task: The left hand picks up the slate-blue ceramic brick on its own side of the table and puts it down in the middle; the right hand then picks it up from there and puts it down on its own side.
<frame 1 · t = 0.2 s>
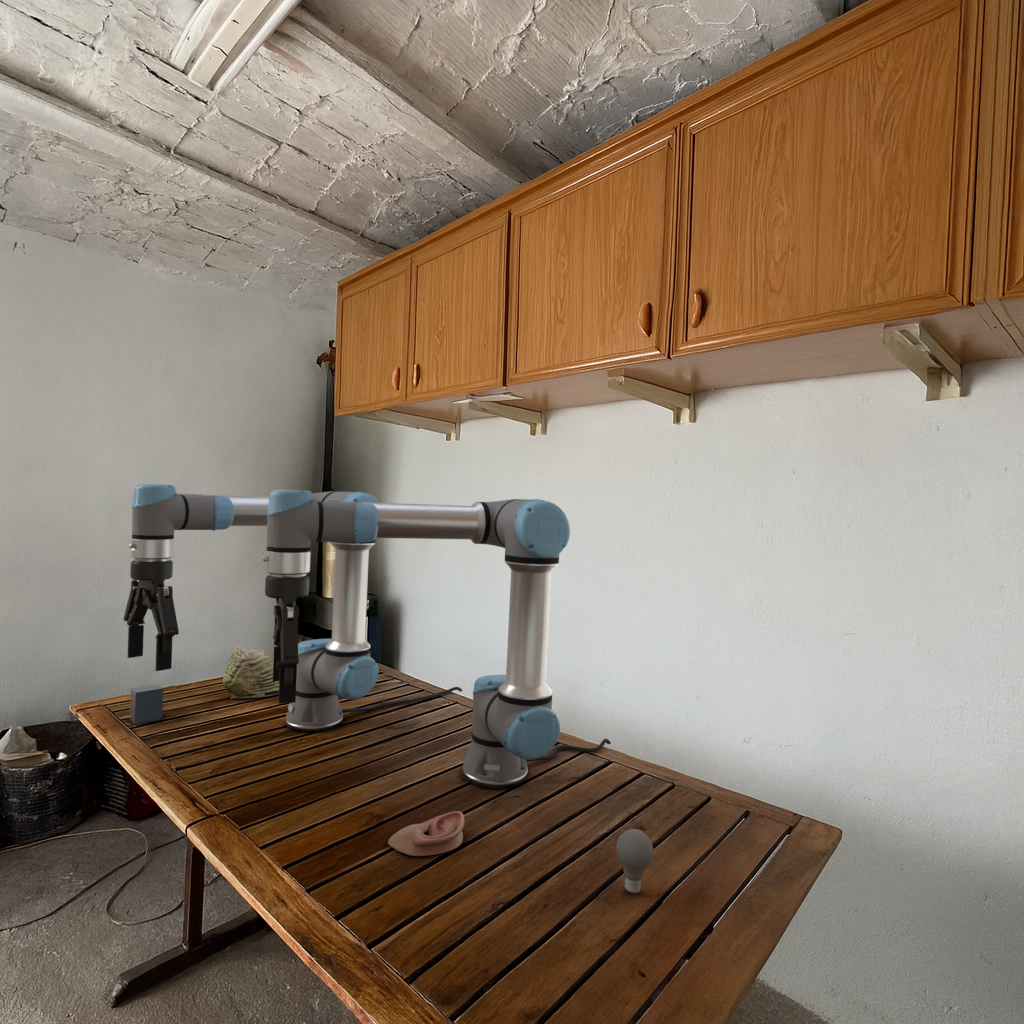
left hand: (148, 663, 130), 28 cm above the table, tool pointing down, fingers open, 13 cm apart
right hand: (283, 691, 115), 28 cm above the table, tool pointing down, fingers open, 13 cm apart
fossil: (254, 694, 198), on the table
light bulb: (632, 891, 106), on the table
brick: (146, 719, 174), on the table
anatomical model: (426, 841, 118), on the table
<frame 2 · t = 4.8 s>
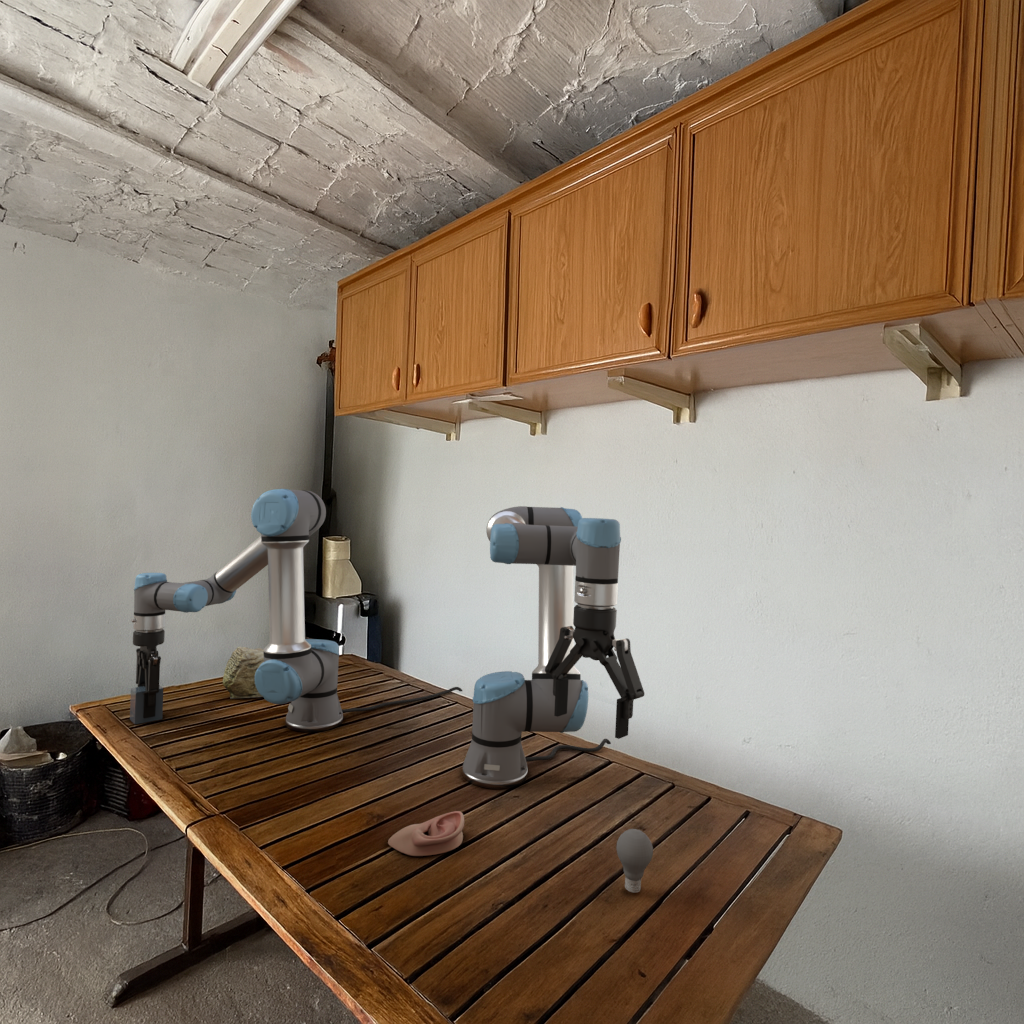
left hand: (146, 714, 174), 1 cm above the table, tool pointing down, fingers closed on brick, 5 cm apart
right hand: (589, 725, 112), 25 cm above the table, tool pointing down, fingers open, 13 cm apart
brick: (146, 719, 174), on the table, touching left hand
everything else where it was.
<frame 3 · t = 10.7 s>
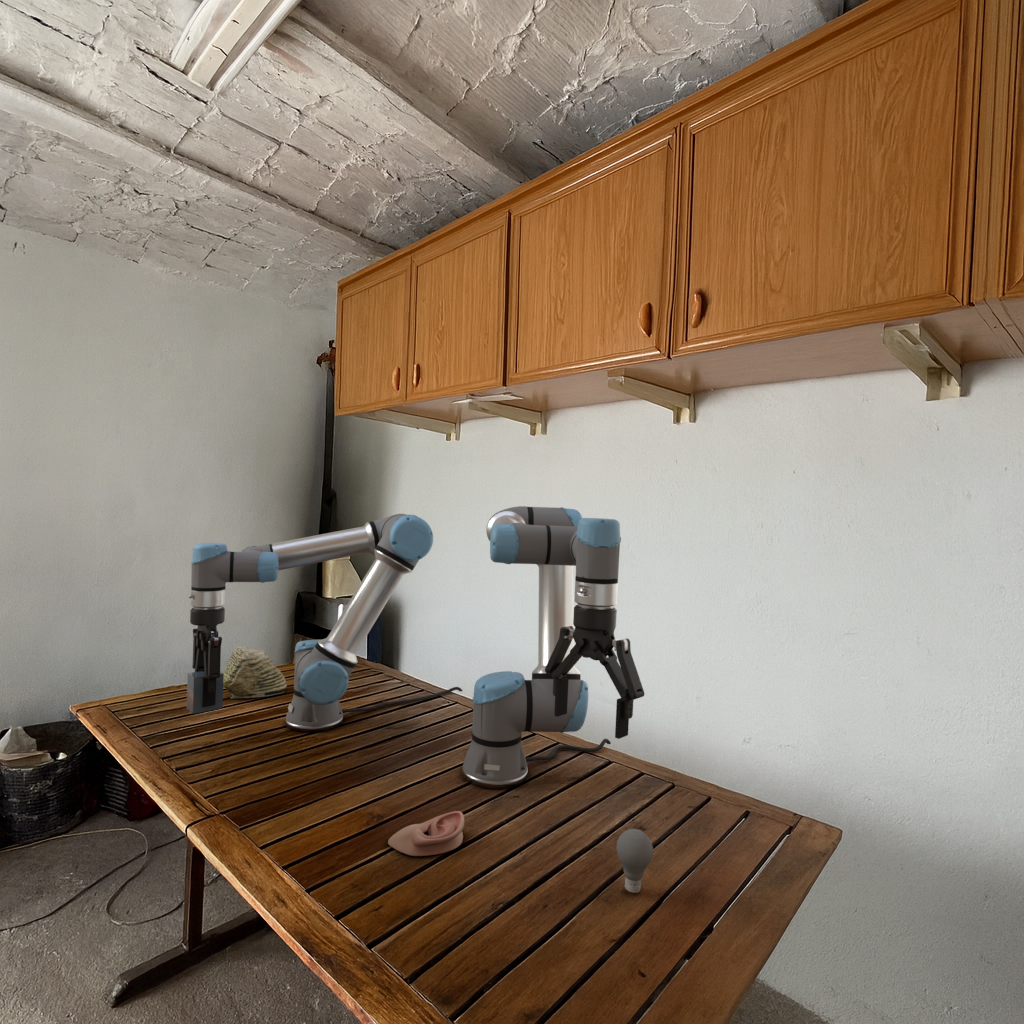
left hand: (204, 702, 153), 12 cm above the table, tool pointing down, fingers closed on brick, 5 cm apart
right hand: (589, 725, 112), 25 cm above the table, tool pointing down, fingers open, 13 cm apart
brick: (204, 708, 153), point 11 cm above the table, touching left hand
everything else where it was.
when the left hand's fingers open (3 cm above the table, at t = 16.6 s): brick drops 2 cm, on the table.
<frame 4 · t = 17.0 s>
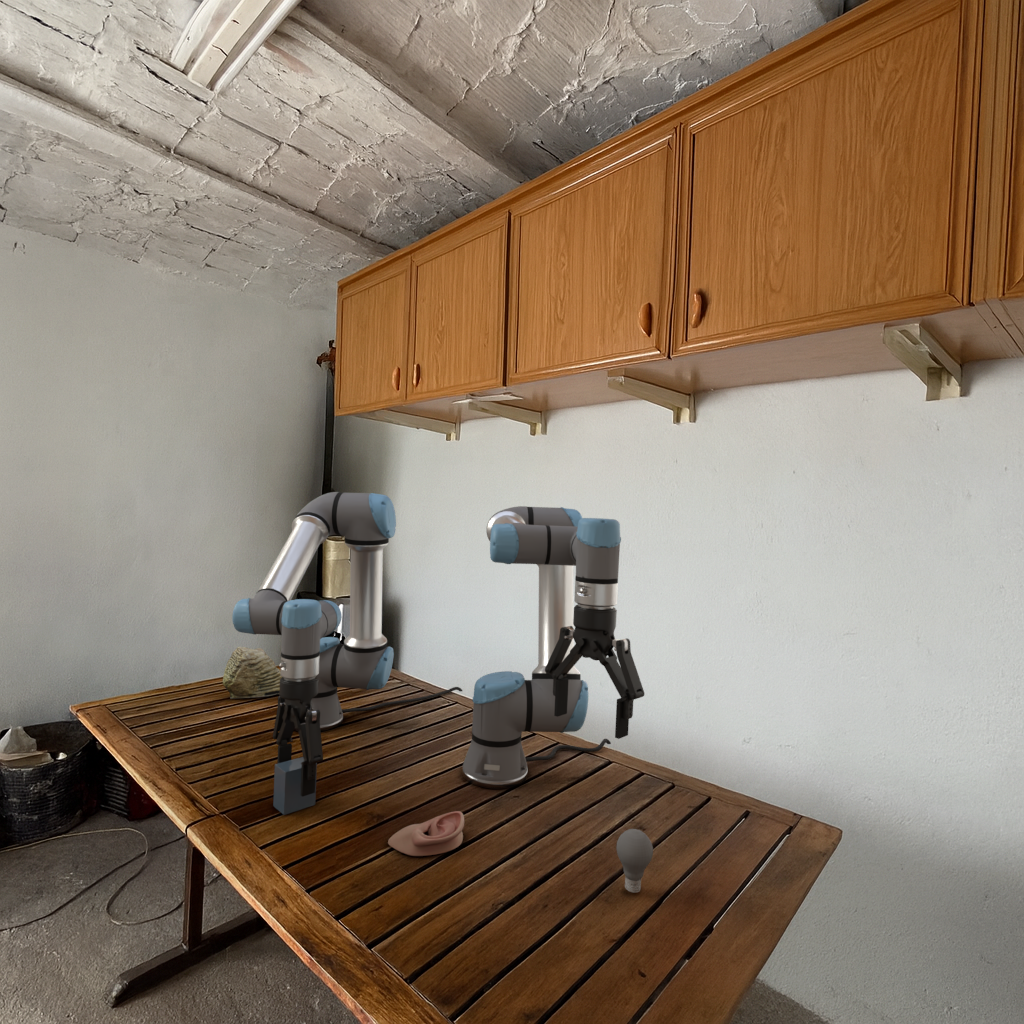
left hand: (295, 784, 130), 4 cm above the table, tool pointing down, fingers open, 10 cm apart
right hand: (589, 725, 112), 25 cm above the table, tool pointing down, fingers open, 13 cm apart
brick: (294, 805, 130), on the table
everything else where it was.
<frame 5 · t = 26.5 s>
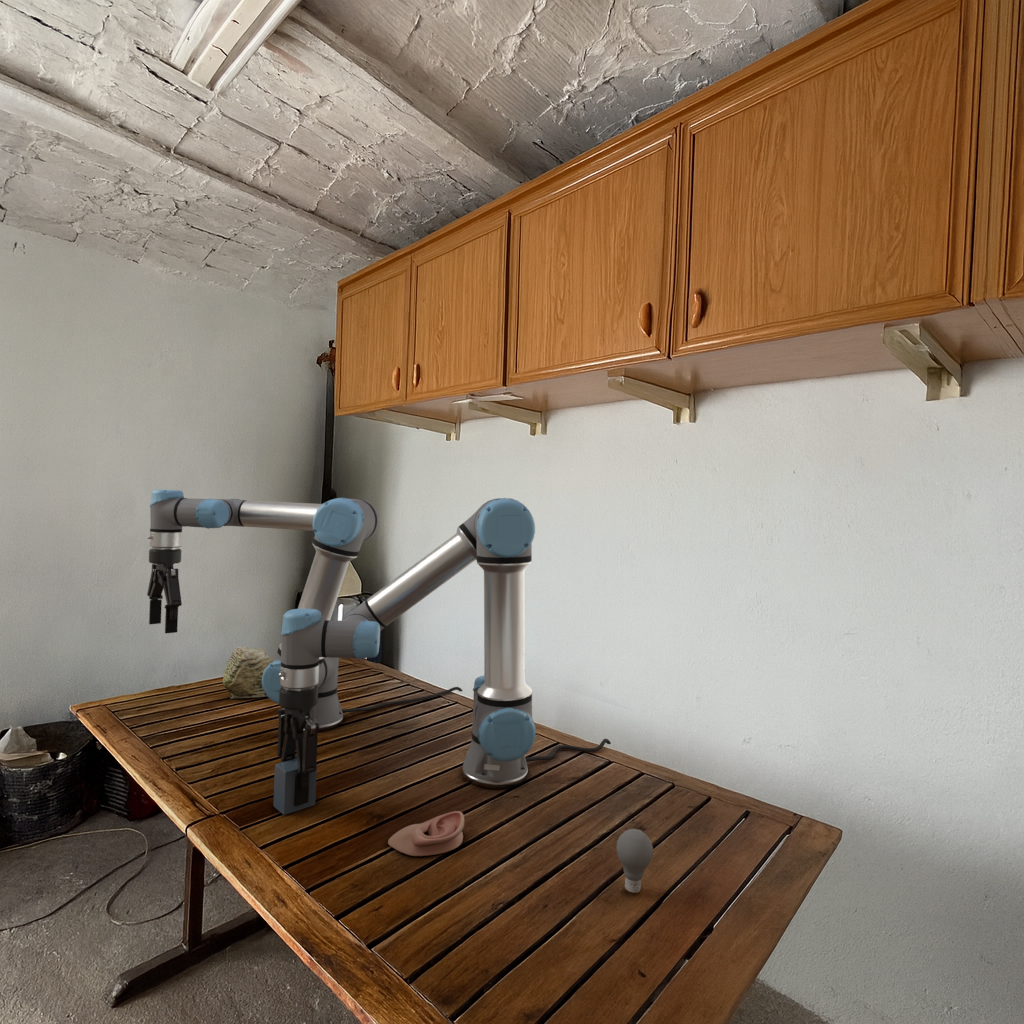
left hand: (162, 628, 168), 26 cm above the table, tool pointing down, fingers open, 13 cm apart
right hand: (294, 798, 130), 1 cm above the table, tool pointing down, fingers closed on brick, 5 cm apart
brick: (294, 805, 130), on the table, touching right hand
everything else where it was.
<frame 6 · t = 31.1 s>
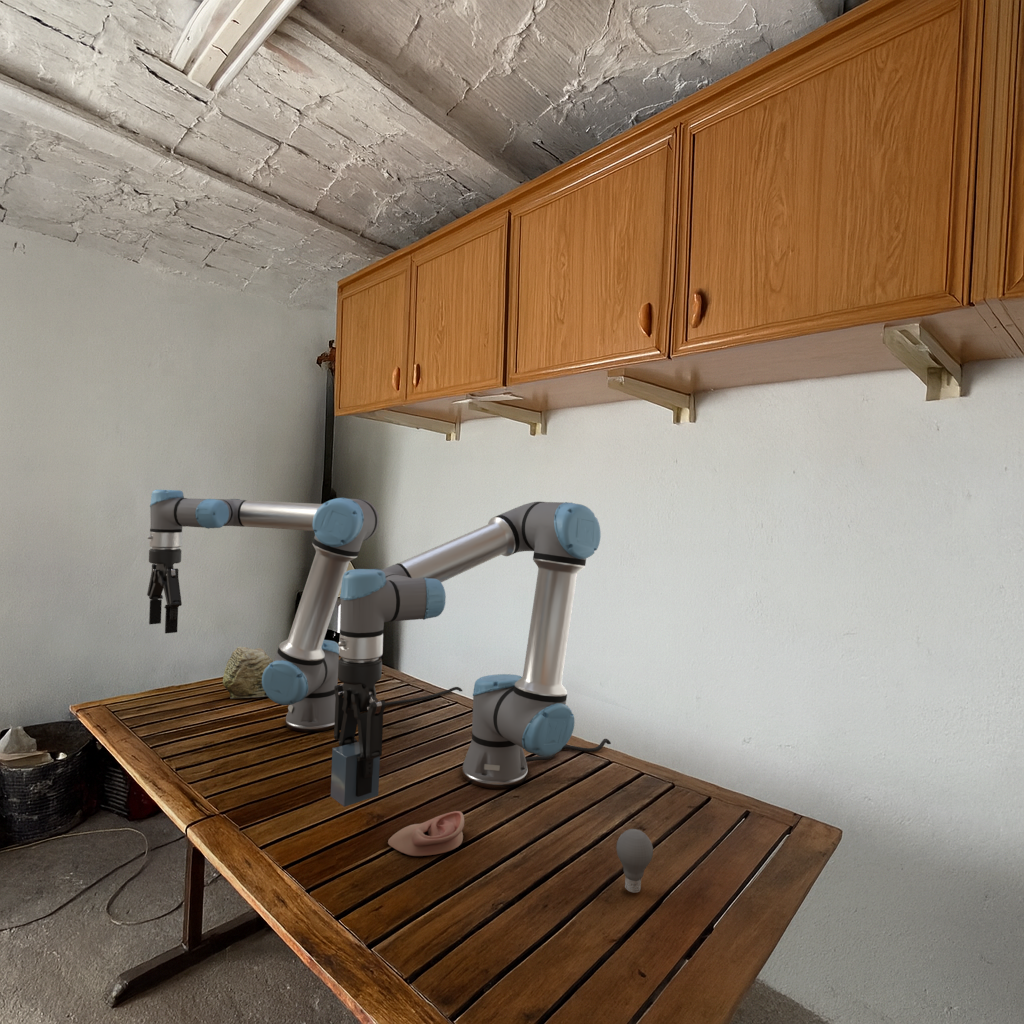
left hand: (162, 628, 168), 26 cm above the table, tool pointing down, fingers open, 13 cm apart
right hand: (355, 787, 112), 12 cm above the table, tool pointing down, fingers closed on brick, 5 cm apart
brick: (354, 796, 112), point 11 cm above the table, touching right hand
everything else where it was.
when the right hand's fingers open (3 cm above the table, at t = 35.7 s): brick drops 2 cm, on the table.
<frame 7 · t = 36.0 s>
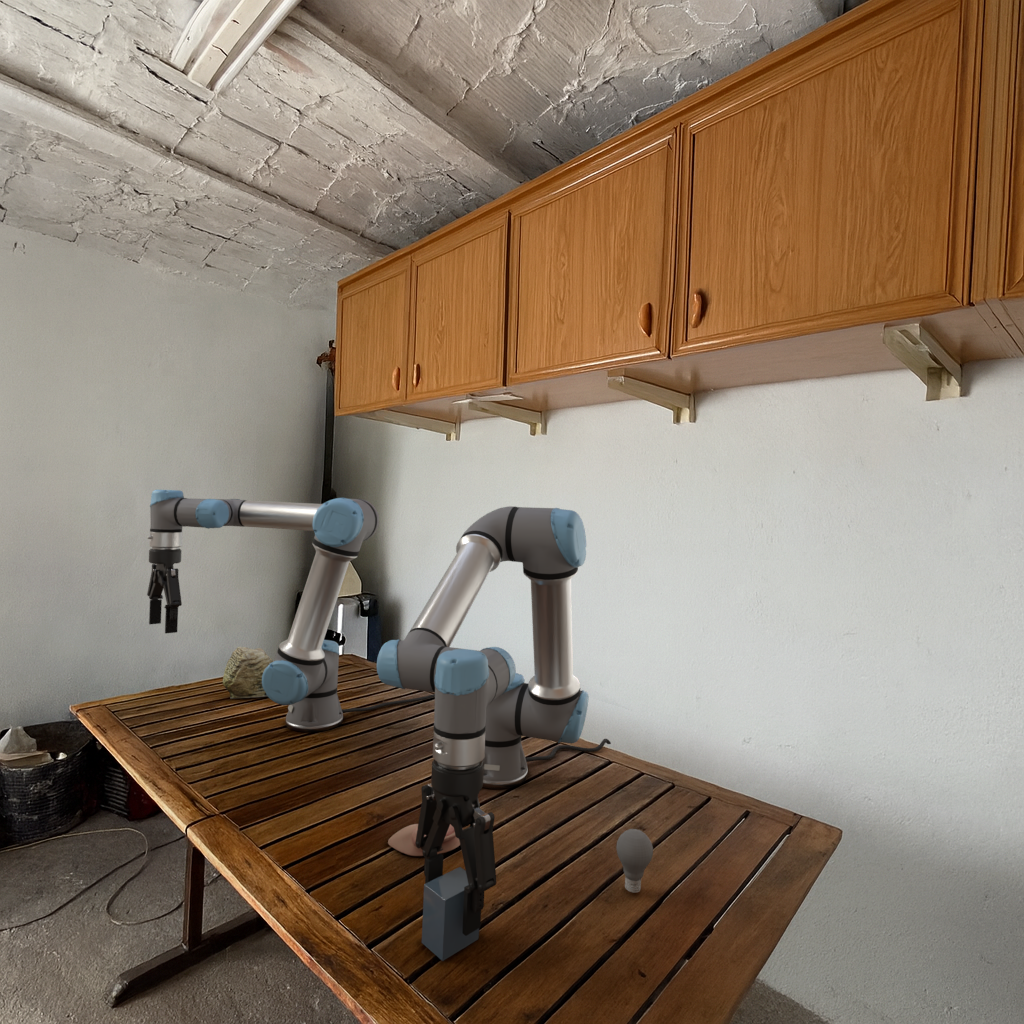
left hand: (162, 628, 168), 26 cm above the table, tool pointing down, fingers open, 13 cm apart
right hand: (451, 914, 92), 4 cm above the table, tool pointing down, fingers open, 8 cm apart
brick: (450, 941, 92), on the table
everything else where it was.
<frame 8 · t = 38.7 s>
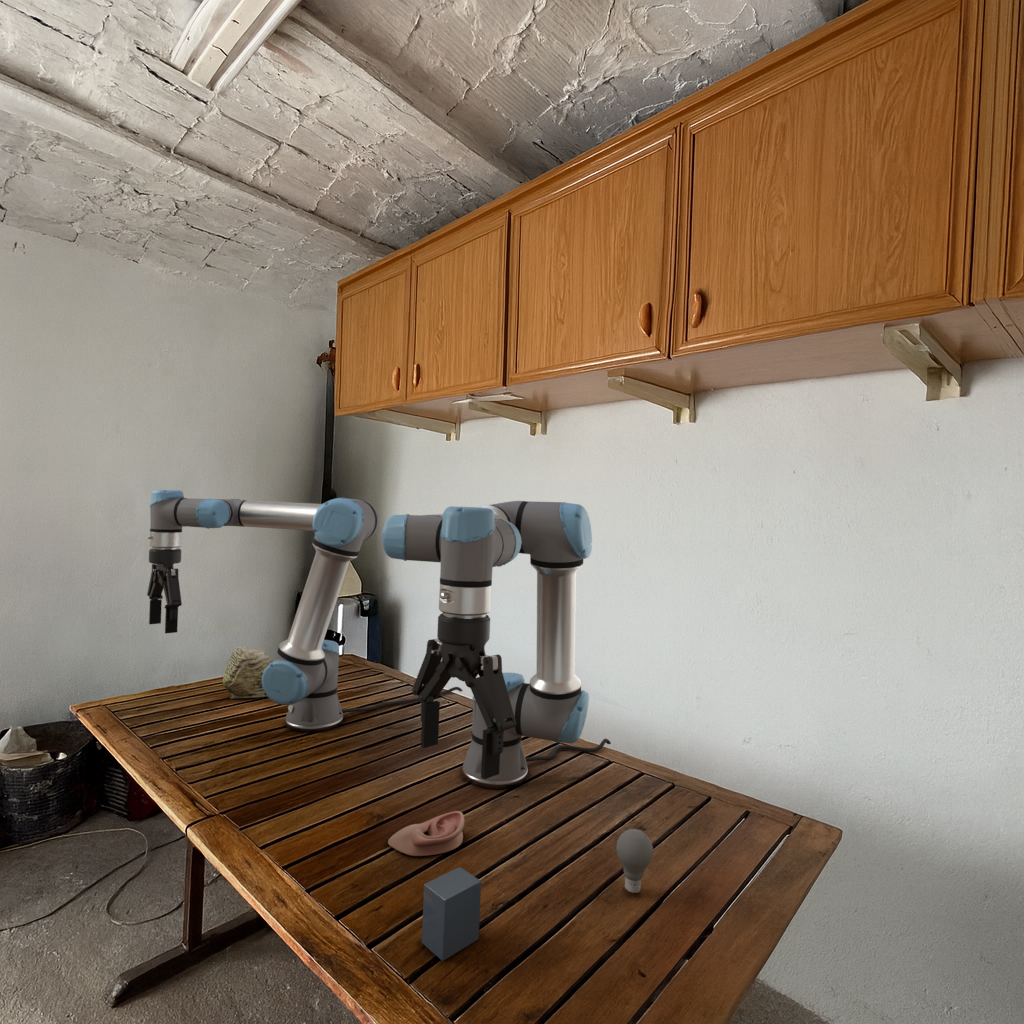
left hand: (162, 628, 168), 26 cm above the table, tool pointing down, fingers open, 13 cm apart
right hand: (458, 760, 92), 26 cm above the table, tool pointing down, fingers open, 13 cm apart
nothing on the table moved.
at the end: brick inside the target area (0.0 cm from its centre), on the table; brick tilted 0°; the two hands never held the brick at the same time; the left hand is holding nothing; the right hand is holding nothing; brick at rest at the end (0.0 cm/s) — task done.
